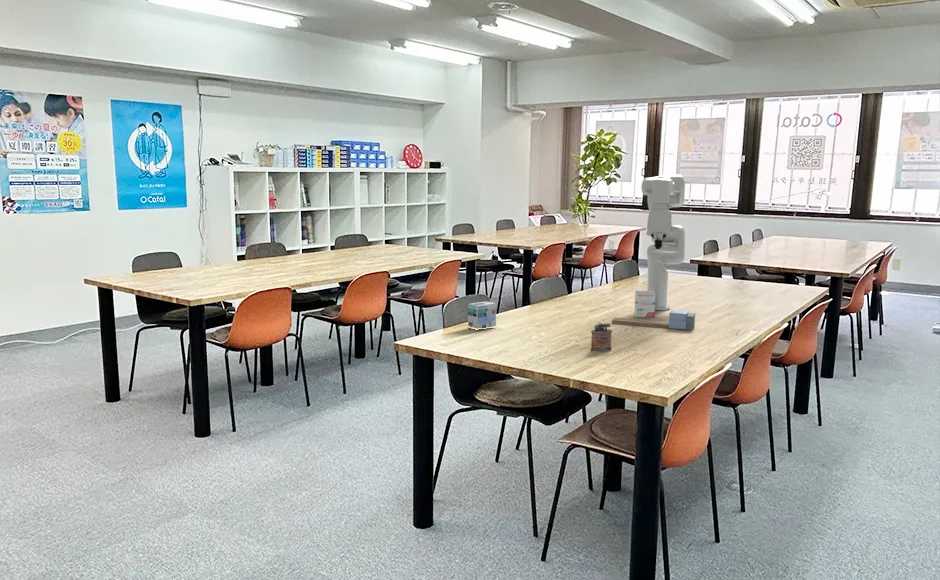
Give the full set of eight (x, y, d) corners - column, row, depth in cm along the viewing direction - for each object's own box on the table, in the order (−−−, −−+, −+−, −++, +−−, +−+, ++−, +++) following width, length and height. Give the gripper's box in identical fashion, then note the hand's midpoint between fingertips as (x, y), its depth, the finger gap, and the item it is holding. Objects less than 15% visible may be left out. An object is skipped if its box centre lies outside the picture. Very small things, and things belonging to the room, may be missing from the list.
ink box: (652, 315, 328) (653, 290, 326) (654, 317, 323) (655, 291, 321) (633, 315, 329) (634, 289, 327) (635, 317, 324) (636, 291, 322)
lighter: (593, 352, 257) (593, 325, 256) (589, 349, 260) (589, 323, 259) (613, 350, 259) (613, 324, 258) (608, 348, 263) (609, 322, 261)
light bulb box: (477, 331, 292) (477, 305, 290) (467, 328, 297) (467, 303, 295) (496, 328, 299) (497, 302, 297) (486, 325, 304) (486, 300, 302)
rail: (615, 320, 315) (615, 307, 314) (694, 327, 302) (695, 313, 301) (611, 323, 308) (611, 310, 307) (692, 330, 295) (693, 316, 294)
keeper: (671, 324, 306) (671, 309, 305) (688, 325, 303) (688, 310, 302) (668, 328, 298) (669, 312, 297) (685, 329, 296) (686, 314, 295)
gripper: (678, 207, 310) (676, 248, 313) (644, 206, 316) (642, 247, 319) (676, 207, 303) (674, 250, 306) (641, 207, 309) (639, 249, 312)
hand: (658, 248), depth 312 cm, fingers closed
